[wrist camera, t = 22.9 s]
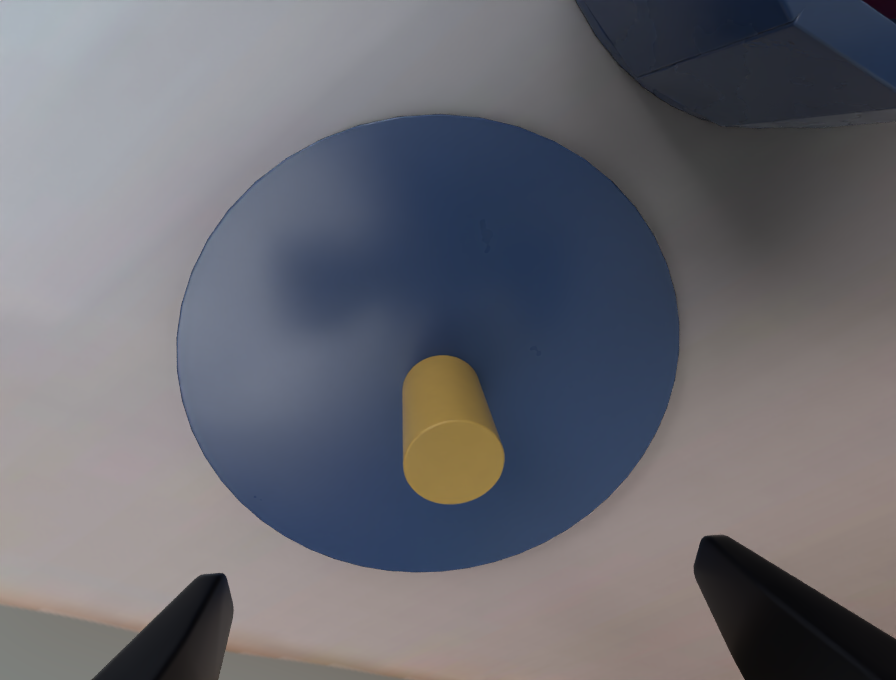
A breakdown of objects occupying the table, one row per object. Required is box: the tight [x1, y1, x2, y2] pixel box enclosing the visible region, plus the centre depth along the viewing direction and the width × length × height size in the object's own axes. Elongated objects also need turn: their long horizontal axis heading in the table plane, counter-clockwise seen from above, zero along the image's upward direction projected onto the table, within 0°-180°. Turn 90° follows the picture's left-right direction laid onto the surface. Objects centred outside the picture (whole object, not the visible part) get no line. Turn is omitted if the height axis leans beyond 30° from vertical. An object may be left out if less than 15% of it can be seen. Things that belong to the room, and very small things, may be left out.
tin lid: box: [177, 114, 679, 572], centre depth 14 cm, size 17×17×5 cm
